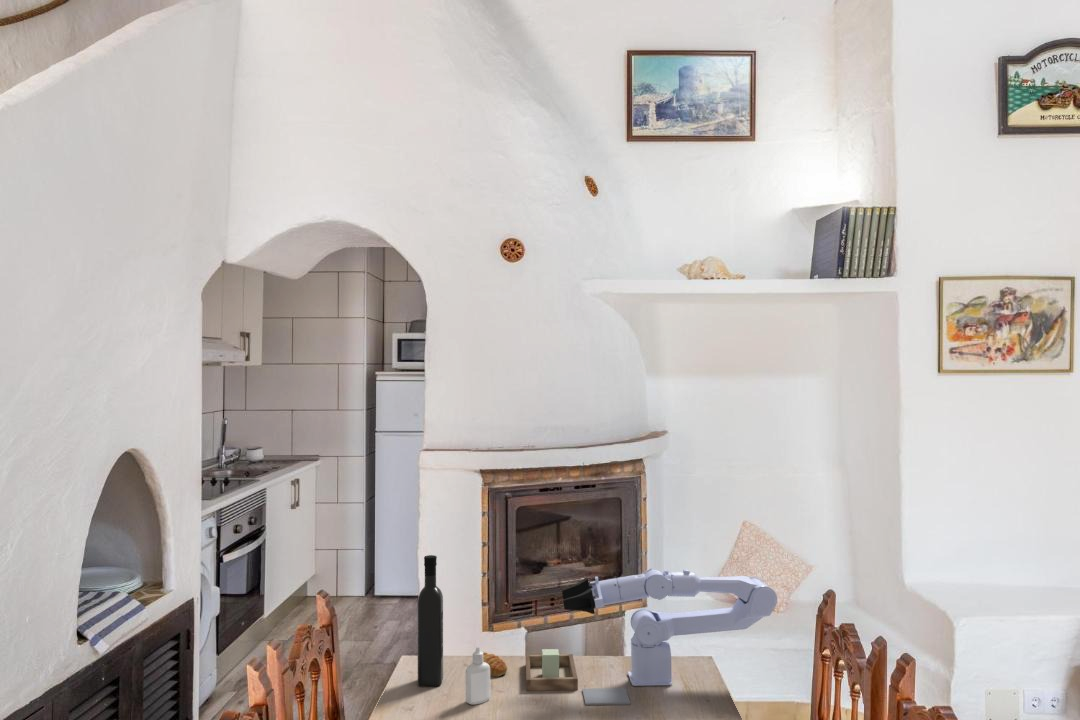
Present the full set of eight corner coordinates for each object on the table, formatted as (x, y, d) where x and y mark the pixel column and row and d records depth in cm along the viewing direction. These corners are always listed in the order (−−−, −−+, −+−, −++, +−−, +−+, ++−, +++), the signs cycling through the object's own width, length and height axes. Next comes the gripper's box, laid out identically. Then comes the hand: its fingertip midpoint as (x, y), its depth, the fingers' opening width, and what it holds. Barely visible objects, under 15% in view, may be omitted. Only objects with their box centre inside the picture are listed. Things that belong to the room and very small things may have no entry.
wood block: (558, 673, 180) (558, 649, 181) (559, 680, 176) (559, 654, 177) (542, 674, 180) (542, 649, 180) (542, 680, 176) (542, 655, 176)
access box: (572, 664, 186) (572, 654, 186) (577, 689, 170) (577, 678, 171) (525, 664, 186) (525, 655, 186) (526, 690, 170) (526, 679, 170)
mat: (625, 689, 170) (625, 687, 170) (630, 704, 162) (630, 702, 162) (582, 690, 170) (582, 688, 170) (585, 705, 162) (585, 703, 162)
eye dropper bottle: (491, 704, 163) (490, 649, 163) (465, 705, 162) (465, 650, 163) (489, 696, 167) (489, 643, 168) (465, 697, 166) (465, 644, 167)
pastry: (514, 673, 181) (513, 657, 181) (493, 681, 176) (493, 665, 177) (489, 663, 188) (489, 648, 188) (468, 671, 183) (468, 655, 183)
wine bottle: (443, 677, 178) (443, 553, 179) (441, 687, 173) (440, 558, 174) (420, 678, 178) (420, 553, 179) (416, 687, 172) (416, 559, 174)
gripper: (612, 565, 184) (559, 574, 184) (619, 582, 170) (561, 592, 169) (617, 593, 184) (564, 602, 184) (624, 612, 170) (566, 622, 169)
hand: (563, 599), depth 177 cm, fingers open, 7 cm apart
